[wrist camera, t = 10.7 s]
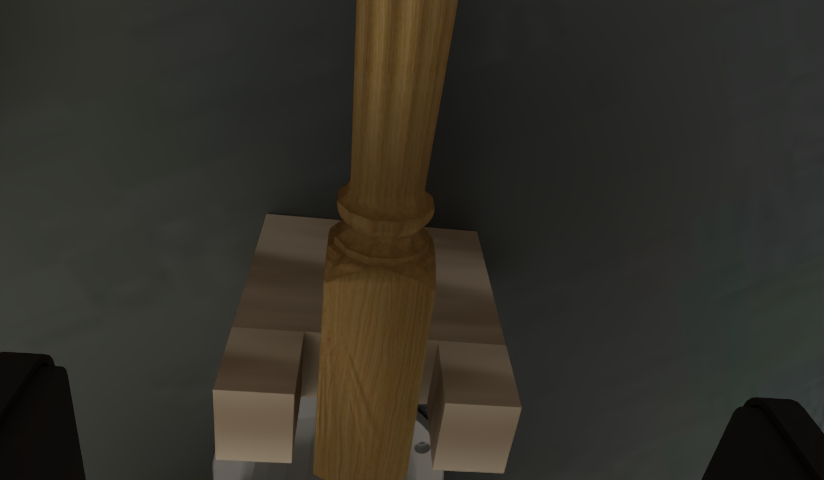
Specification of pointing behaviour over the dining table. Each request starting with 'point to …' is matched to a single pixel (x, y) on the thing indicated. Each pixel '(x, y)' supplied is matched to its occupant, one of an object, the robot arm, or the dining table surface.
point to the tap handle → (382, 246)
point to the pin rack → (300, 347)
